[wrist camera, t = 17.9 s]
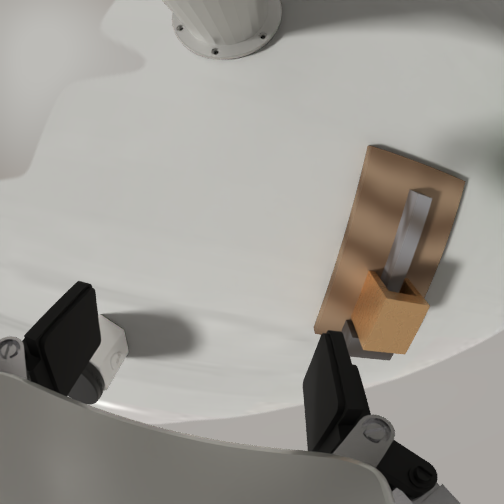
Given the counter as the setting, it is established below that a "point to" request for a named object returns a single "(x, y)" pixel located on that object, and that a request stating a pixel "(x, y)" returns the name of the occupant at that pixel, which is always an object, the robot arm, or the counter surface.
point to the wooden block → (388, 315)
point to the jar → (101, 364)
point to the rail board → (389, 237)
